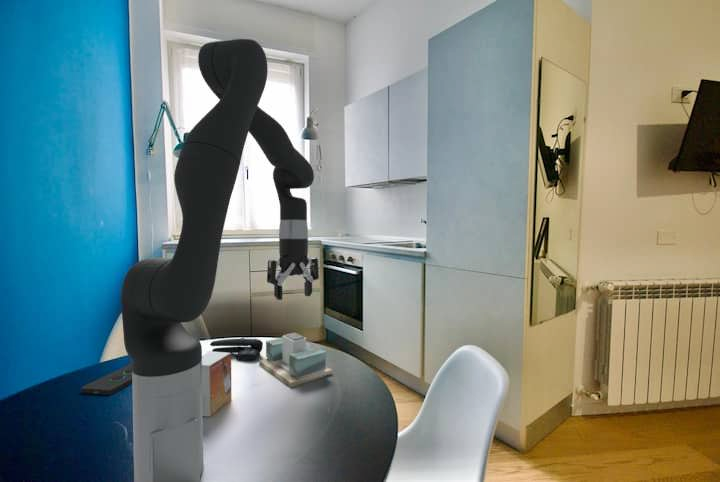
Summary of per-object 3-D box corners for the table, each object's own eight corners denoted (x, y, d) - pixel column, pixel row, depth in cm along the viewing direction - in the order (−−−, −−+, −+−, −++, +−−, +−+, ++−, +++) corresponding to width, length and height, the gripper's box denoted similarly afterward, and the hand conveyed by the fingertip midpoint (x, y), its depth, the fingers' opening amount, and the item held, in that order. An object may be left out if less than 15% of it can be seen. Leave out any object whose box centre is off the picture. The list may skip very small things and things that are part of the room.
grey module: (295, 357, 97) (295, 331, 96) (306, 364, 92) (306, 337, 92) (282, 361, 94) (282, 334, 94) (293, 368, 89) (292, 340, 89)
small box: (210, 418, 69) (209, 366, 69) (185, 415, 70) (184, 363, 70) (232, 398, 77) (232, 352, 77) (210, 396, 78) (209, 350, 78)
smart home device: (79, 387, 80) (145, 356, 100) (79, 394, 80) (145, 362, 100) (111, 389, 79) (171, 357, 98) (111, 397, 79) (171, 363, 99)
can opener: (268, 354, 105) (267, 336, 105) (254, 363, 98) (254, 343, 98) (219, 348, 110) (219, 331, 110) (203, 356, 103) (203, 337, 103)
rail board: (332, 374, 90) (331, 350, 90) (290, 387, 82) (290, 361, 82) (297, 354, 104) (297, 334, 104) (259, 364, 96) (259, 342, 96)
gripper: (275, 237, 85) (275, 303, 85) (323, 237, 94) (323, 296, 94) (262, 237, 90) (262, 298, 91) (309, 236, 100) (309, 292, 100)
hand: (293, 297), depth 93 cm, fingers open, 8 cm apart
